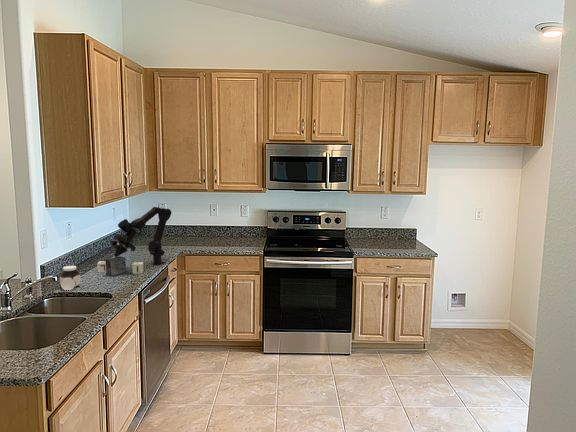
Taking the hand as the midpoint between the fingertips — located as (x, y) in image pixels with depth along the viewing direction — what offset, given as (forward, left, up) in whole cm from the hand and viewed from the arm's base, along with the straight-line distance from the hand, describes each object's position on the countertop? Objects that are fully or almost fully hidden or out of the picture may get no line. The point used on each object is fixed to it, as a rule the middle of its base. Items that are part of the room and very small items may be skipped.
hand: (115, 256), depth 281 cm
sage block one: (-2, +13, -11) cm, 18 cm away
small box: (0, 0, -12) cm, 12 cm away
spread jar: (+26, -21, -12) cm, 35 cm away
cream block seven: (-10, -9, -11) cm, 18 cm away
